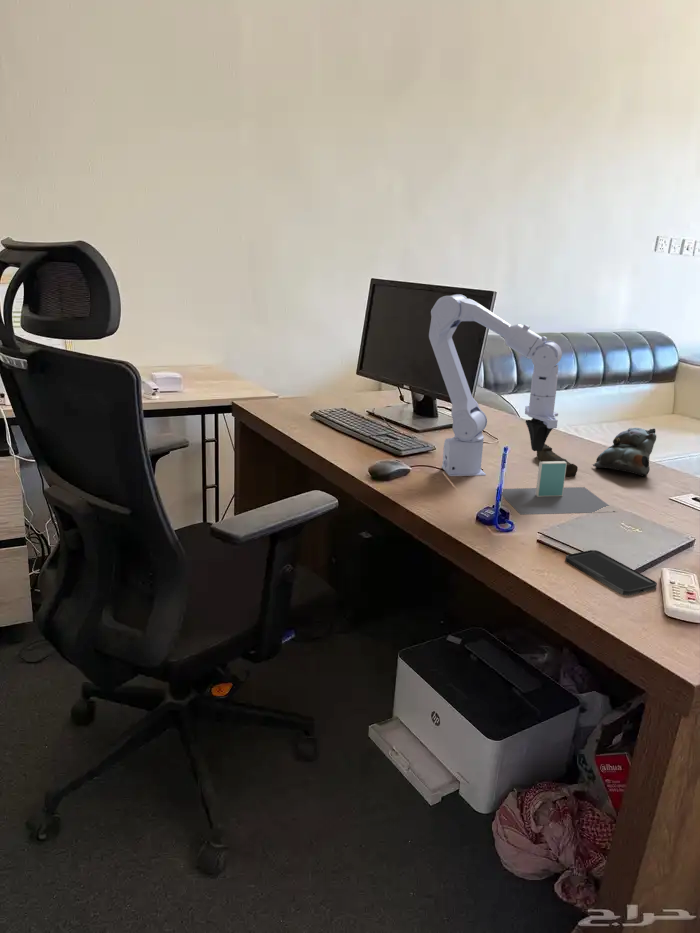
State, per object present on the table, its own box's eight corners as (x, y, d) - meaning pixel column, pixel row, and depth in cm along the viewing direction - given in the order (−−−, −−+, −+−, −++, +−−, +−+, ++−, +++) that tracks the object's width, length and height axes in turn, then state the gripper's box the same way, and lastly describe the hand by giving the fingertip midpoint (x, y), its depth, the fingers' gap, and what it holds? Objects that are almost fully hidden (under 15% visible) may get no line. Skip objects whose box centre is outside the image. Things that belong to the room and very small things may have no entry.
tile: (537, 496, 155) (541, 463, 152) (535, 494, 156) (539, 461, 153) (562, 496, 155) (567, 462, 153) (560, 494, 157) (564, 461, 154)
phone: (595, 549, 127) (660, 583, 114) (594, 554, 127) (658, 589, 115) (562, 555, 124) (625, 592, 111) (561, 561, 124) (624, 598, 111)
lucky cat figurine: (583, 465, 180) (601, 416, 181) (620, 481, 182) (638, 433, 183) (618, 466, 165) (637, 413, 166) (657, 484, 168) (676, 432, 169)
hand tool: (577, 479, 169) (579, 461, 168) (561, 479, 169) (564, 461, 167) (546, 457, 187) (548, 441, 186) (532, 457, 187) (534, 441, 185)
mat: (520, 516, 144) (520, 514, 144) (495, 490, 159) (495, 488, 159) (617, 513, 147) (617, 511, 147) (584, 488, 162) (584, 487, 162)
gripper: (572, 401, 152) (565, 458, 156) (546, 388, 166) (540, 441, 170) (542, 401, 151) (536, 459, 155) (519, 388, 165) (513, 442, 169)
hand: (536, 450), depth 162 cm, fingers closed
